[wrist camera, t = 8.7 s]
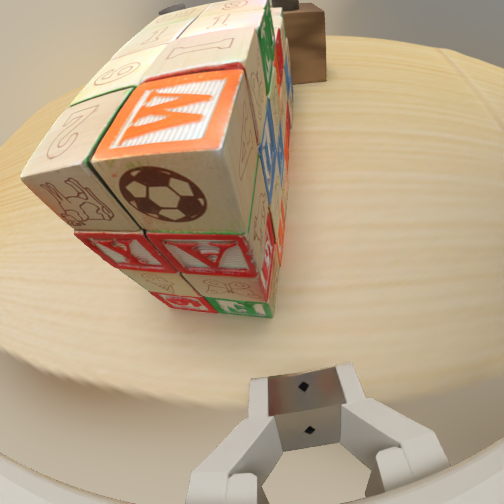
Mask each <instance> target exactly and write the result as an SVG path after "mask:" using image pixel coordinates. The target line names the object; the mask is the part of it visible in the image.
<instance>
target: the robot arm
mask: <svg viewBox="0 0 504 504" xmlns="http://www.w3.org/2000/svg"><path fill="white" fill-rule="evenodd" d="M338 442H340V444H341V445H343V446H344V447H345V448H346V449H347V450H348V451H350V453H352V454H353V455H354V456H355V457H356V458H357V459H359V460H360V461H361V462H362V463H363V464H364V465H366V466H367V467H368V468H369V469H370V470H372V471H371V475H370V478H369V482H368V485H367V488H366V491H365V496H366V498H363V499H359V500H355V501H351V502H346V503H341V504H504V437H502V438H501V439H499V440H497V441H496V442H494V443H493V444H491V445H489V446H488V447H486V448H484V449H483V450H481V451H479V452H477V453H476V454H474V455H472V456H470V457H468V458H466V459H464V460H463V461H461V462H459V463H457V464H455V465H453V466H451V465H450V463H449V461H448V459H447V457H446V455H445V453H444V451H443V448H442V447H441V444H440V442H439V440H438V439H437V436H436V434H435V433H434V431H432V430H430V429H428V428H427V427H425V426H423V425H421V424H419V423H417V422H415V421H413V420H411V419H409V418H408V417H406V416H404V415H402V414H400V413H398V412H397V411H395V410H393V409H391V408H389V407H387V406H386V405H384V404H382V403H380V402H379V401H377V400H375V399H373V398H372V397H371V398H367V399H366V396H365V394H364V391H363V389H362V386H361V383H360V381H359V379H358V376H357V374H356V371H355V369H354V366H353V364H352V363H351V362H348V363H343V364H339V365H335V366H331V367H326V368H322V369H316V370H311V371H306V372H300V373H293V374H286V375H278V376H269V377H263V378H252V379H251V380H250V388H249V406H248V419H243V420H242V421H241V422H240V423H239V424H238V425H237V426H236V427H235V428H234V429H233V430H232V431H231V432H230V434H229V435H228V436H227V437H226V438H225V439H224V440H223V441H222V442H221V443H220V444H219V445H218V446H217V447H216V448H215V449H214V450H213V451H212V452H211V453H210V454H209V455H208V456H207V457H206V458H205V459H204V460H203V461H202V462H201V463H200V464H199V465H198V466H197V467H196V468H195V469H194V470H193V471H192V473H191V477H190V482H189V487H188V492H187V497H186V502H185V504H269V502H268V500H267V498H266V496H265V494H264V491H263V489H262V487H261V486H262V485H263V483H264V482H265V480H266V479H267V477H268V476H269V474H270V473H271V471H272V470H273V468H274V467H275V465H276V464H277V462H278V460H279V459H280V457H281V456H282V454H283V452H284V451H291V450H297V449H303V448H309V447H315V446H321V445H327V444H333V443H338ZM0 504H133V503H129V502H125V501H121V500H116V499H113V498H109V497H105V496H102V495H98V494H95V493H92V492H89V491H85V490H82V489H79V488H76V487H73V486H71V485H68V484H65V483H63V482H60V481H58V480H55V479H53V478H50V477H48V476H46V475H43V474H41V473H39V472H37V471H34V470H32V469H30V468H28V467H26V466H24V465H22V464H20V463H18V462H16V461H14V460H12V459H11V458H9V457H7V456H5V455H3V454H2V453H0Z"/></svg>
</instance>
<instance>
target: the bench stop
mask: <svg viewBox="0 0 504 504" xmlns="http://www.w3.org/2000/svg"><path fill="white" fill-rule="evenodd" d="M280 7H282V9H283V16H284V24H285V32H286V37H287V39H288V45H289V54H290V63H291V64H290V66H291V76H292V84H299V83H309V82H320V81H326V38H325V17H324V11H323V10H321V9H320V8H318V7H317V6H315V5H314V4H312V3H299V2H298V0H272V6H270V8H280ZM183 9H186V8H185V5H184V4H179V5H175V6H171V7H168V8H166V9H164V10H162V11H160V12H159V16H160V15H164V14H167V13H171V12H175V11H179V10H183Z"/></svg>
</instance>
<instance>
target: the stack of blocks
mask: <svg viewBox="0 0 504 504" xmlns="http://www.w3.org/2000/svg"><path fill="white" fill-rule="evenodd" d="M290 64H291V63H290V54H289V45H288V39H287V37H286V32H285V24H284V16H283V9H282V7H280V8H270V3H269V0H229V1H222V2H217V3H212V4H205V5H201V6H197V7H193V8H188V9H183V10H179V11H175V12H171V13H167V14H164V15H160V16H159V17H157V18H156V19H155V20H153V21H152V22H151V23H150V24H149V25H147V26H146V27H145V28H144V29H142V30H141V31H140V32H139V33H138V34H137V35H136V36H134V37H133V38H132V39H130V40H129V41H128V42H127V43H126V44H125V45H124V46H123V47H122V48H121V49H120V50H119V51H117V53H116V54H115V55H114V56H113V57H112V59H111V60H110V61H109V62H108V63H107V64H105V65H104V66H103V67H102V68H101V70H99V72H98V73H97V74H96V75H95V76H94V77H93V78H92V79H91V80H90V82H89V83H88V84H87V85H86V86H85V87H84V88H83V89H82V91H81V92H80V93H79V94H78V95H77V96H76V97H75V99H74V100H73V101H72V103H71V104H70V106H69V107H70V108H68V109H66V110H65V111H64V112H63V113H62V114H61V115H60V116H59V117H58V119H57V120H56V121H55V123H54V124H53V125H52V127H51V128H50V130H49V131H48V132H47V134H46V135H45V137H44V138H43V140H42V141H41V143H40V144H39V145H38V147H37V148H36V150H35V151H34V153H33V155H32V156H31V158H30V159H29V161H28V162H27V164H26V166H25V167H24V169H23V171H22V174H21V176H20V178H21V180H22V182H23V183H24V184H25V185H26V186H27V187H28V188H29V189H30V190H31V191H32V192H33V193H34V194H35V195H36V196H38V197H39V198H40V199H41V200H42V201H43V202H44V203H45V204H46V205H47V206H48V207H49V208H50V209H51V210H52V211H53V212H55V213H56V214H57V215H58V216H59V217H60V218H61V219H62V220H63V221H65V222H66V223H67V224H68V225H70V226H71V227H72V228H74V235H75V236H76V237H77V238H78V239H80V240H81V241H82V242H83V243H84V244H85V245H86V246H88V247H89V248H90V249H91V250H93V251H94V252H95V253H96V254H98V255H99V256H100V257H101V258H102V259H103V260H105V261H106V262H108V263H109V264H110V265H112V266H113V267H115V268H118V269H119V270H120V271H121V272H123V273H124V274H126V275H127V276H128V277H130V278H131V279H132V280H134V281H135V282H137V283H138V284H139V285H141V286H142V287H143V288H145V289H147V290H148V292H150V293H151V294H152V295H153V296H155V297H156V298H157V299H159V300H161V301H162V302H163V303H164V304H166V305H167V306H169V307H171V308H177V309H185V310H192V311H201V312H210V313H226V314H236V315H245V316H255V317H266V318H273V316H274V308H275V300H276V291H277V282H278V273H279V267H280V266H281V258H282V248H283V237H284V227H285V217H286V207H287V196H288V178H287V172H288V160H289V150H288V149H289V134H290V128H291V127H292V113H293V87H292V76H291V66H290Z"/></svg>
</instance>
